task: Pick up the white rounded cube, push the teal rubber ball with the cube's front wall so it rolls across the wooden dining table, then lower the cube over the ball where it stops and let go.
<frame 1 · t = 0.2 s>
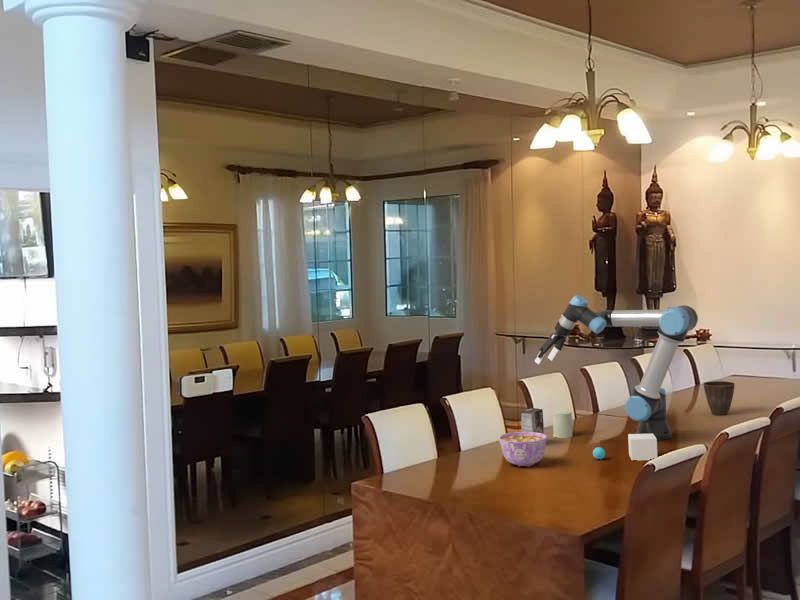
hand: (543, 361, 389), 36 cm above the table, tool tilted 35°, fingers open, 13 cm apart
can: (563, 436, 385), on the table
plant pot: (720, 414, 414), on the table
bowl of food: (524, 464, 336), on the table
ball: (598, 453, 337), on the table
white rounded cube: (643, 457, 336), on the table
coffee box: (533, 445, 371), on the table
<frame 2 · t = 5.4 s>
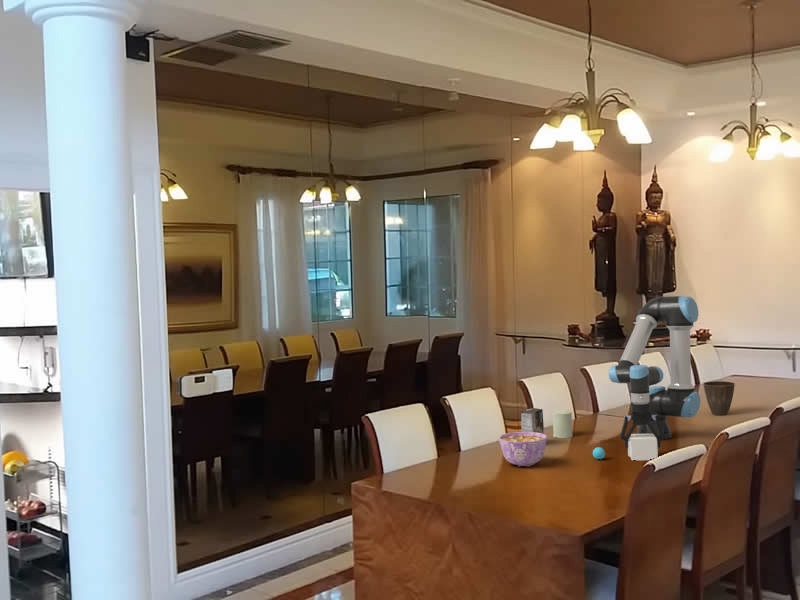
hand: (642, 455, 336), 1 cm above the table, tool pointing down, fingers closed on white rounded cube, 10 cm apart
white rounded cube: (643, 457, 336), on the table, touching gripper
everything else where it was.
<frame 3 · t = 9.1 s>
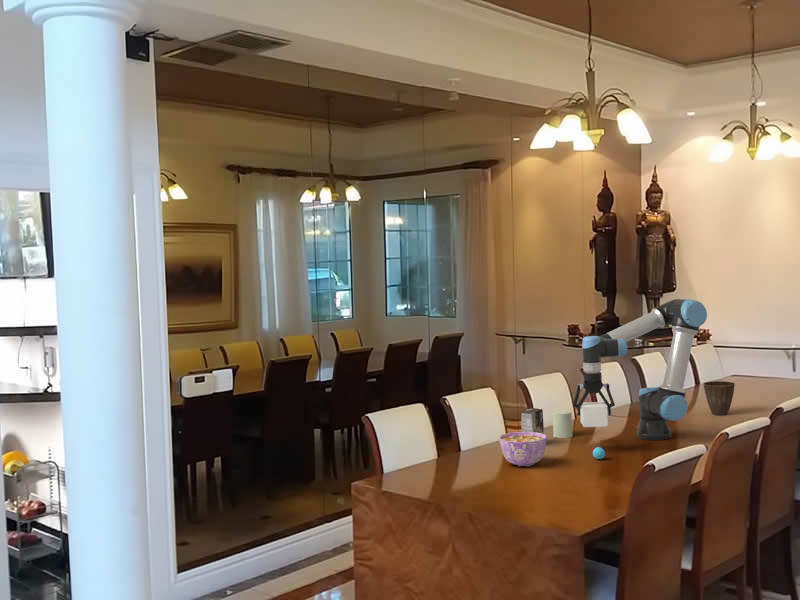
hand: (594, 422, 350), 13 cm above the table, tool pointing down, fingers closed on white rounded cube, 10 cm apart
white rounded cube: (594, 424, 350), point 12 cm above the table, touching gripper
everything else where it was.
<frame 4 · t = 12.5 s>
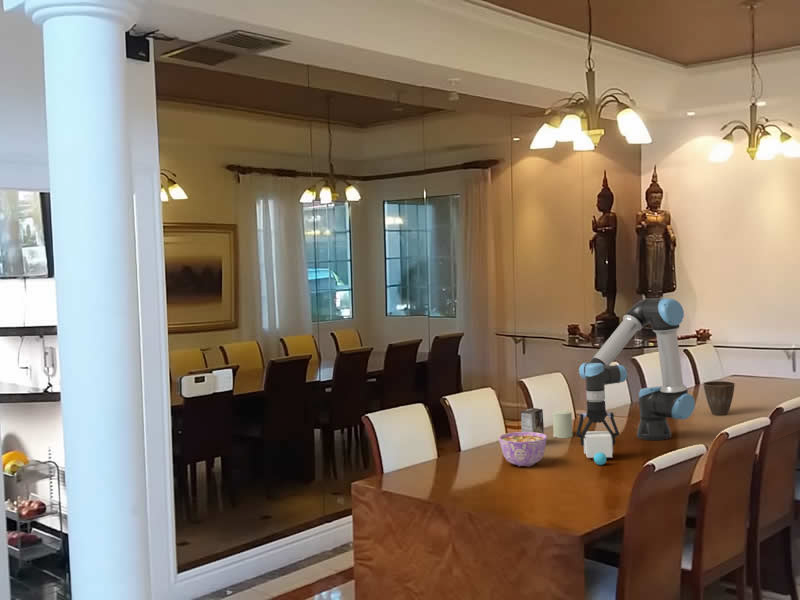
hand: (598, 452, 339), 2 cm above the table, tool pointing down, fingers closed on white rounded cube, 10 cm apart
ball: (600, 458, 328), on the table
white rounded cube: (598, 454, 339), point 2 cm above the table, touching gripper
everything else where it was.
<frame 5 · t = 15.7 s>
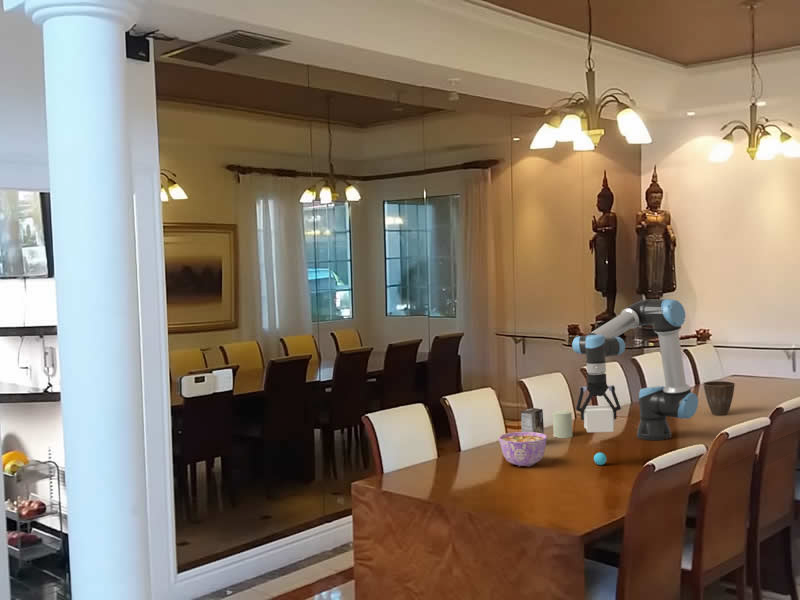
hand: (599, 427, 327), 15 cm above the table, tool pointing down, fingers closed on white rounded cube, 10 cm apart
white rounded cube: (599, 429, 327), point 14 cm above the table, touching gripper
everything else where it was.
when the fingers open (1 cm above the table, at t = 18.4 s): white rounded cube stays where it is, on the table.
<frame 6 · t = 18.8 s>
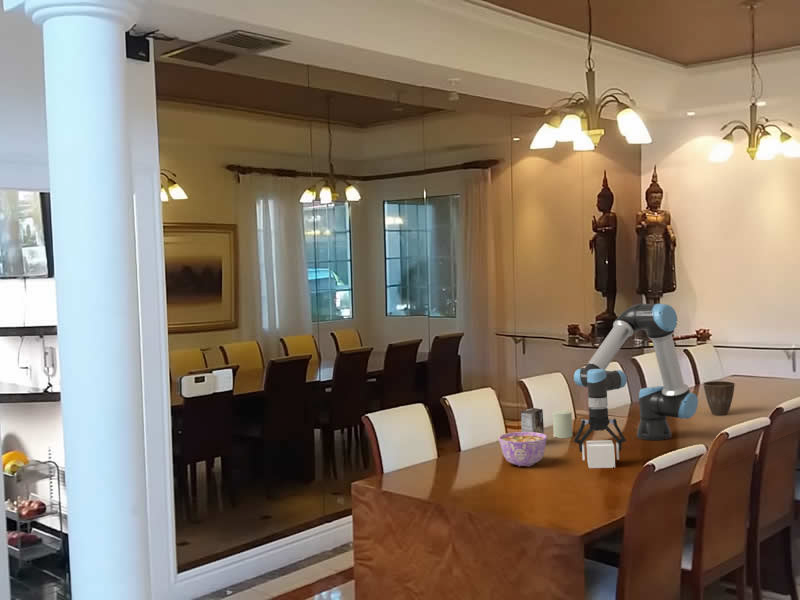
hand: (600, 459, 328), 2 cm above the table, tool pointing down, fingers open, 13 cm apart
white rounded cube: (601, 464, 328), on the table
everything else where it was.
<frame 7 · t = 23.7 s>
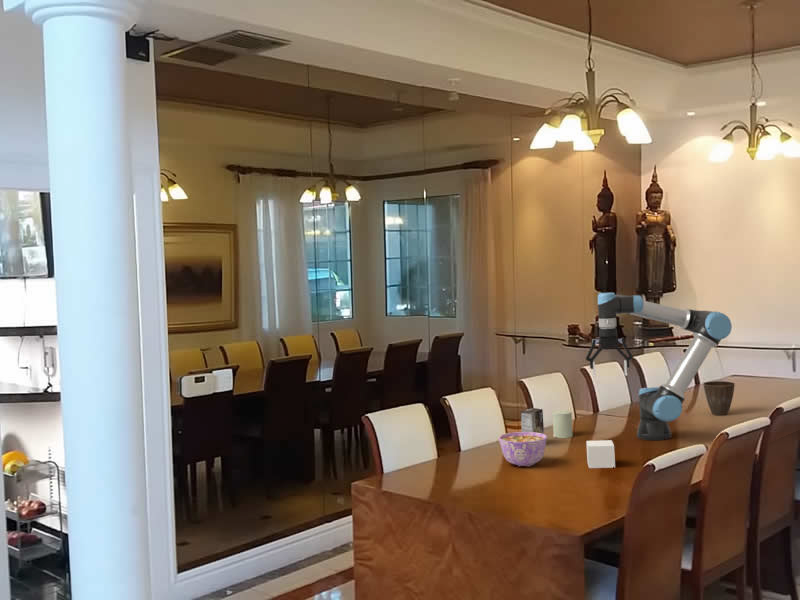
hand: (610, 375, 356), 32 cm above the table, tool pointing down, fingers open, 13 cm apart
nothing on the table moved.
at the end: ball 0.3 cm from the white rounded cube (horizontally); white rounded cube on the table; ball moved 9.2 cm from its start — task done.
